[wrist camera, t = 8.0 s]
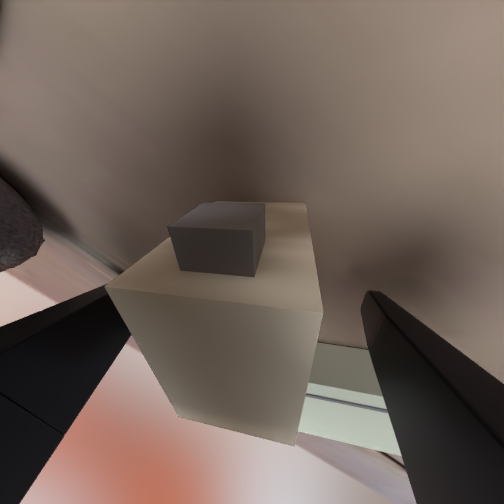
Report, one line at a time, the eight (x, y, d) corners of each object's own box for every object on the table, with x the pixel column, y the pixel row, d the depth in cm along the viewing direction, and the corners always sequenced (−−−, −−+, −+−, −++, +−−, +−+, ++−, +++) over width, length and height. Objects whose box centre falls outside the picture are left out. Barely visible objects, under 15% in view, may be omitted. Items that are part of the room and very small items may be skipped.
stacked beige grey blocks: (307, 177, 7) (336, 256, 2) (293, 316, 11) (292, 456, 6) (212, 178, 8) (77, 240, 3) (230, 308, 12) (184, 428, 7)
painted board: (472, 365, 11) (518, 424, 8) (420, 417, 14) (442, 468, 12) (205, 325, 14) (188, 361, 11) (218, 376, 17) (207, 411, 15)
